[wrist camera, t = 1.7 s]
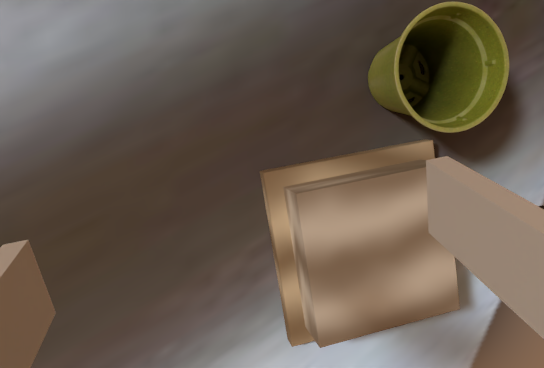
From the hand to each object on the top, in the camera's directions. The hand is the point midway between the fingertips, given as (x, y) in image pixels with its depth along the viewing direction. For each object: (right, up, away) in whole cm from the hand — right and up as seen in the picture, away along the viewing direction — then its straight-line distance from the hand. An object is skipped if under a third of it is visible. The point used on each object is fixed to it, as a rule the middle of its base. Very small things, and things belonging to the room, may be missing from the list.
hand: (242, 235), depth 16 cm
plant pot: (+12, +11, +28) cm, 32 cm away
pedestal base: (+9, -3, +29) cm, 30 cm away
